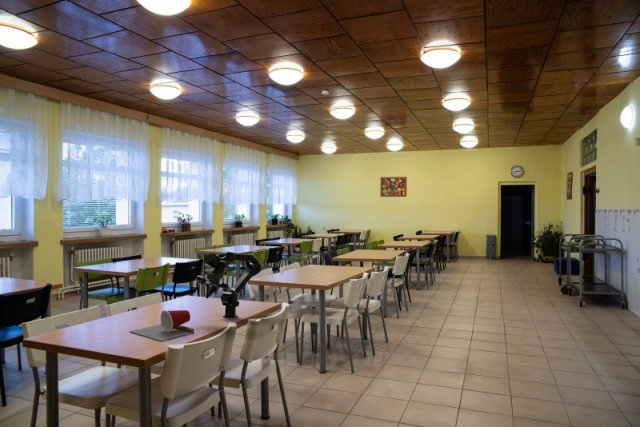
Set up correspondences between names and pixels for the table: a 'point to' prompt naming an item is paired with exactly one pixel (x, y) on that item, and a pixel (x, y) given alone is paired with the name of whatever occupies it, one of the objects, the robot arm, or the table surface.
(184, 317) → the plastic cup
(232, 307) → the robot arm
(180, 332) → the mat
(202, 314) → the table surface
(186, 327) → the stop strip
